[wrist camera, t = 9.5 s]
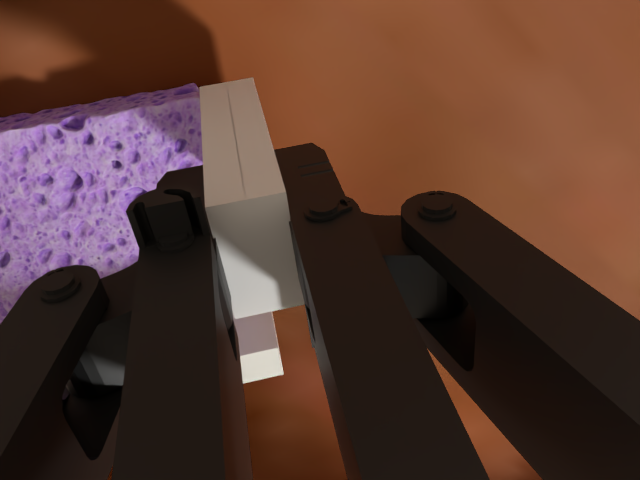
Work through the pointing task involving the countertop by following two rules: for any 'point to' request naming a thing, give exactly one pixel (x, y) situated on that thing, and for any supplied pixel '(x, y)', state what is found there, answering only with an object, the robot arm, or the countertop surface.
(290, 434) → the countertop surface
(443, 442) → the robot arm
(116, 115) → the sponges
